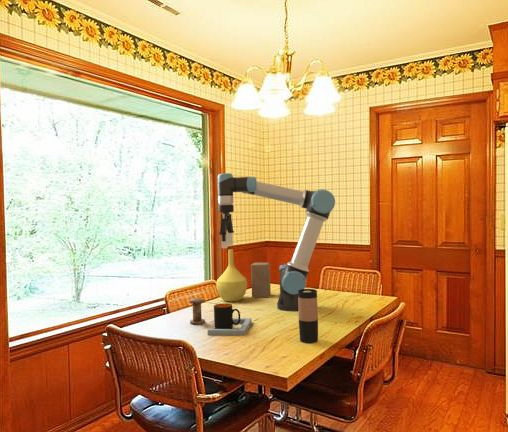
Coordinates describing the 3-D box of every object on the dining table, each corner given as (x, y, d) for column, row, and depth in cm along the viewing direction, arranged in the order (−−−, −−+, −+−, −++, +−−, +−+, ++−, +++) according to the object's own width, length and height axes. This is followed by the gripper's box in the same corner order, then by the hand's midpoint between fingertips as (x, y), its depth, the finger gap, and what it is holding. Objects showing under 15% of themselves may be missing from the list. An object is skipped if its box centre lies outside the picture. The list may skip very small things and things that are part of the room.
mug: (238, 331, 182) (237, 308, 182) (212, 330, 185) (211, 307, 185) (243, 326, 190) (242, 303, 190) (217, 325, 193) (217, 303, 193)
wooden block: (268, 297, 250) (267, 264, 250) (251, 297, 252) (250, 264, 252) (270, 294, 260) (269, 262, 260) (255, 294, 262) (254, 262, 262)
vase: (253, 298, 250) (252, 248, 250) (236, 304, 235) (234, 251, 235) (228, 295, 260) (227, 247, 260) (210, 301, 245) (208, 250, 244)
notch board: (251, 322, 196) (251, 318, 196) (244, 335, 177) (244, 330, 177) (218, 322, 199) (218, 318, 199) (207, 334, 179) (207, 330, 179)
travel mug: (297, 338, 170) (296, 289, 170) (316, 337, 171) (314, 288, 171) (301, 344, 163) (299, 292, 162) (320, 343, 163) (319, 291, 163)
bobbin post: (206, 320, 202) (205, 298, 202) (202, 324, 195) (201, 301, 195) (192, 320, 203) (191, 298, 203) (188, 324, 196) (187, 301, 196)
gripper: (224, 204, 222) (225, 244, 223) (212, 204, 198) (214, 249, 198) (237, 204, 221) (239, 244, 221) (228, 203, 197) (229, 249, 197)
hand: (227, 246), depth 210 cm, fingers open, 13 cm apart
